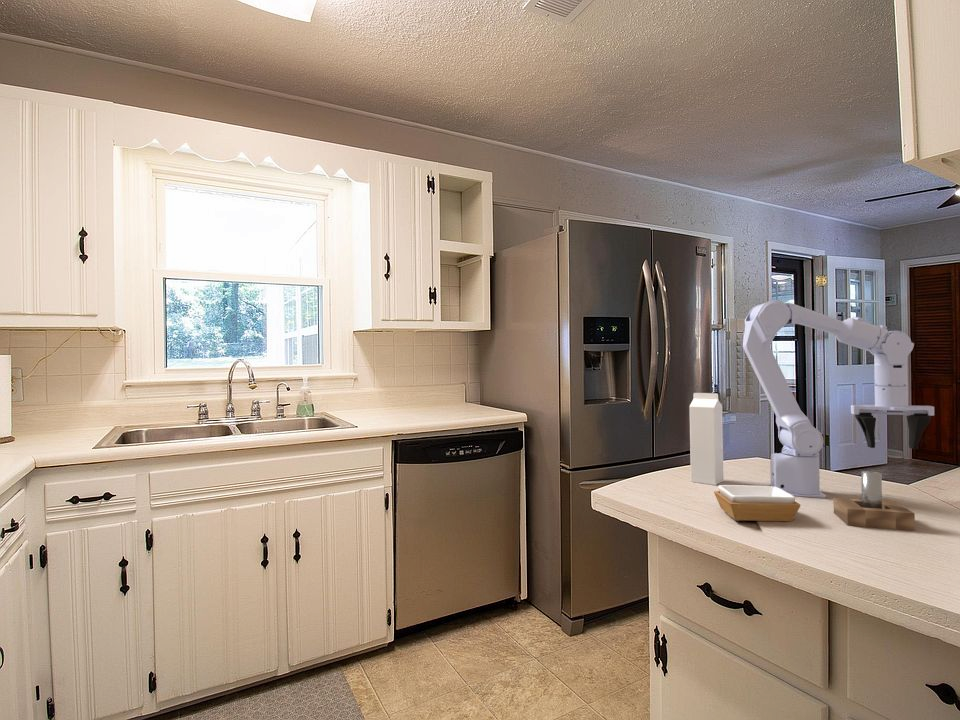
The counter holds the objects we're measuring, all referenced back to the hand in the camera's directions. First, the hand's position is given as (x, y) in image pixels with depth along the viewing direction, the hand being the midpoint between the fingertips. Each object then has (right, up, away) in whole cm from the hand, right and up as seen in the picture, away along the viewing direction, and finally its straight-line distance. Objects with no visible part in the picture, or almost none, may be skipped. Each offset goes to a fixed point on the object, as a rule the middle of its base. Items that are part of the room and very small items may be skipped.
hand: (892, 447), depth 113 cm
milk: (-34, -11, +16) cm, 39 cm away
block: (-17, -11, -17) cm, 27 cm away
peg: (-17, -11, -17) cm, 27 cm away
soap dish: (-36, -11, -12) cm, 40 cm away
